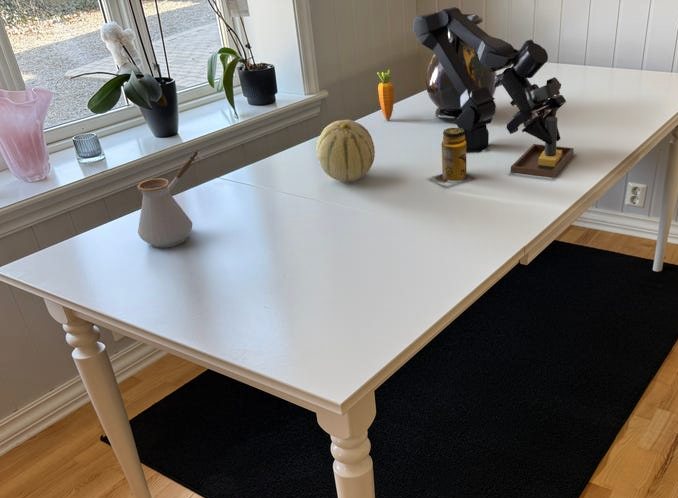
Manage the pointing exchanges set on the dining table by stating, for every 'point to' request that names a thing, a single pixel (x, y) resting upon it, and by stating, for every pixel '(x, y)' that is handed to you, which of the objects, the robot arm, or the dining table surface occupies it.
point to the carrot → (386, 94)
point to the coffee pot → (163, 212)
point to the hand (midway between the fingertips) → (555, 142)
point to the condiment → (452, 156)
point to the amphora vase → (441, 84)
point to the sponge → (550, 146)
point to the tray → (530, 162)
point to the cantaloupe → (345, 150)
